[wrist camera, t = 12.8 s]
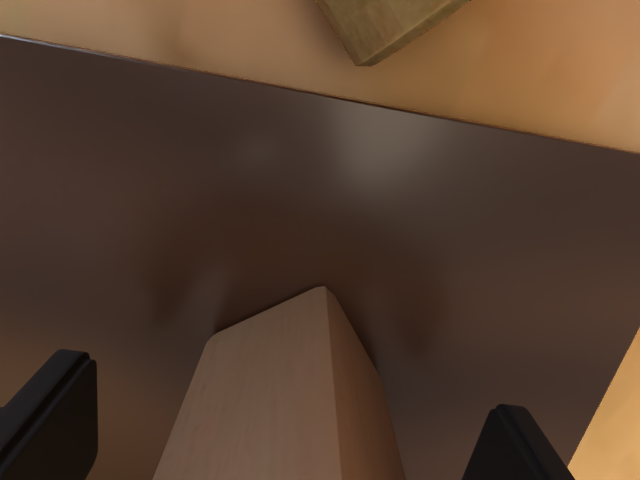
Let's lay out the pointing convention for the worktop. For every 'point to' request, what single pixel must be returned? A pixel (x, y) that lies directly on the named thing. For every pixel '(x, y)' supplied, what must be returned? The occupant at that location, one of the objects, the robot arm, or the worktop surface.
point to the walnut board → (304, 247)
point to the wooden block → (284, 402)
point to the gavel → (383, 24)
